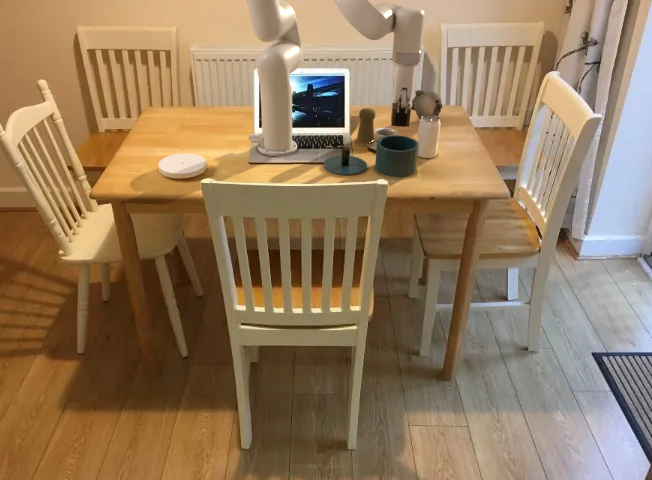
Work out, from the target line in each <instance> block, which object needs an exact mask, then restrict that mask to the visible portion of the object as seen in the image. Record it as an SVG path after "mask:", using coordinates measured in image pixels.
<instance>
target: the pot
mask: <svg viewBox="0 0 652 480" xmlns="http://www.w3.org/2000/svg"><path fill="white" fill-rule="evenodd" d="M418 147H419V145H418V142H417V139H415V138H413V137H410V136H406V135H400V134H399V135H397V134H392V135H385V136H382V137H379V138H378V140H376V148H375V149H376V150H375V163H374V170H375V171H376V172H377V173H379V174H381V175H383V176H385V177H390V178H404V177H410V176H411V175H414V173H416V170H417V163H418V156H417V155H418Z"/></svg>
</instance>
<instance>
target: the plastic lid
mask: <svg viewBox="0 0 652 480" xmlns="http://www.w3.org/2000/svg"><path fill="white" fill-rule="evenodd" d="M207 165H208V164H207V160H206V158H205V157H203V156H201V155H199V154H195V153H187V152H186V153H185V152H184V153H175V154H171V155H168V156H166V157H164V158H162V159H160V160H159V162H158V165H157V167H158V172H159V173H160V174H161V175H162V176H164V177H167V178H170V179H189V178H193V177H197V176H200V175H201V174H203V173H204V172H205V171H206V170H207V167H208V166H207Z"/></svg>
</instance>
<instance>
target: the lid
mask: <svg viewBox="0 0 652 480" xmlns="http://www.w3.org/2000/svg"><path fill="white" fill-rule="evenodd" d="M323 168H324V169H325V171H327V172H328V173H330V174H334V175H337V176H355V175H359V174H362V173H364V172H365V171H366V170H367V169H368V164H367V162H366V161H365V160H364V159H362V158H360V157H358V156H352V155H351V148H350V147H347V146H345V147H344V146H343V147H342V148H341V155H335V156H331V157H329V158H327V159H325V161H323Z"/></svg>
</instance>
